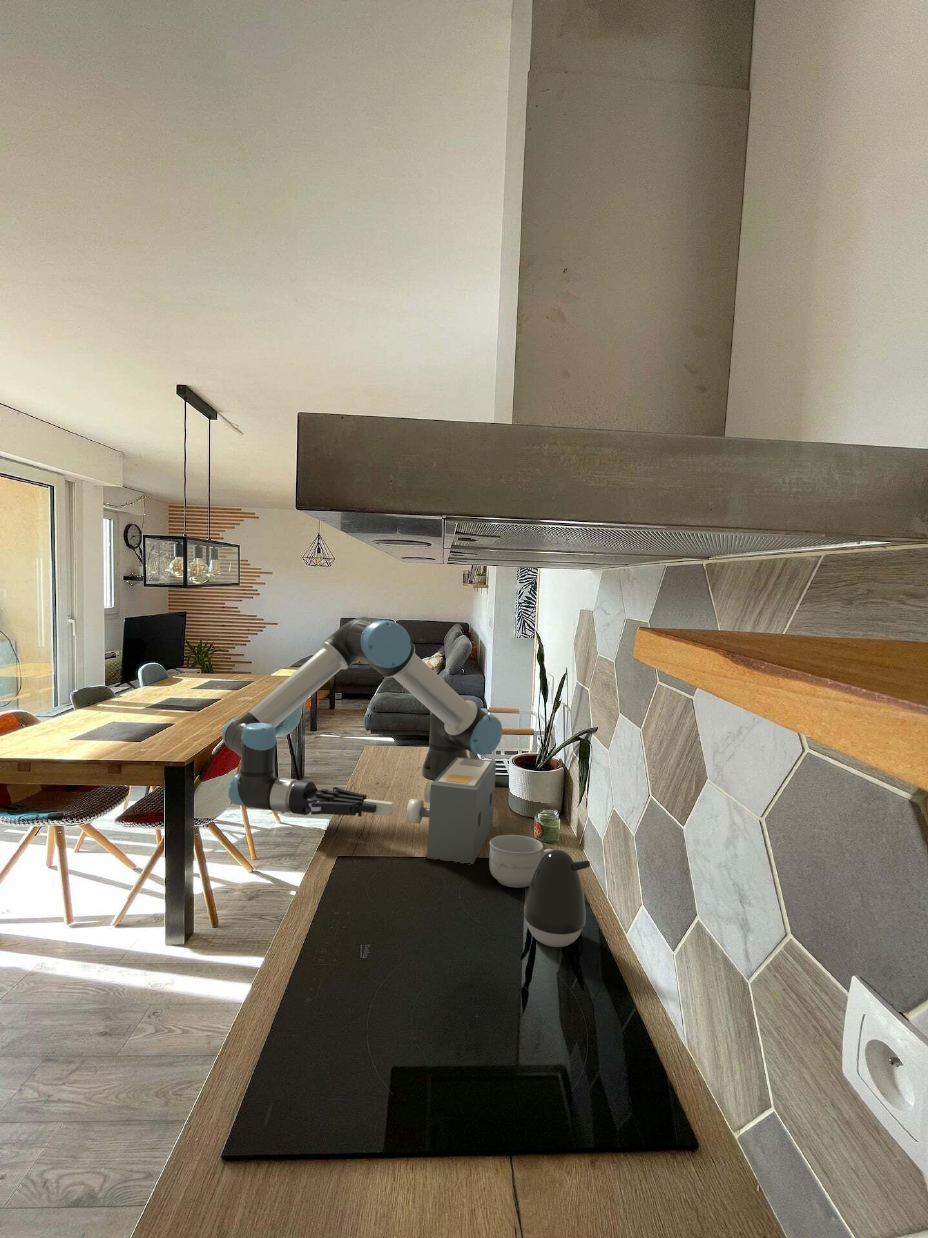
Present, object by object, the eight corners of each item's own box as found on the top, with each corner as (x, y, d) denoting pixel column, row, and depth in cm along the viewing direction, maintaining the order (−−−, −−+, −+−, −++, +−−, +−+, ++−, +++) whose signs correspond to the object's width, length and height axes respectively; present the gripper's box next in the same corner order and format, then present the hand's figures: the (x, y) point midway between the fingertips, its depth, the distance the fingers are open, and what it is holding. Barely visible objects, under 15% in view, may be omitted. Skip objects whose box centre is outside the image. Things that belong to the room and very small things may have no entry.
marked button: (412, 817, 148) (413, 796, 148) (444, 822, 146) (445, 800, 146) (406, 825, 143) (407, 803, 143) (439, 829, 141) (440, 807, 141)
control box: (453, 820, 163) (456, 754, 162) (492, 825, 161) (496, 759, 160) (427, 858, 140) (431, 782, 139) (472, 864, 137) (477, 787, 137)
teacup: (478, 884, 129) (480, 844, 128) (501, 865, 138) (503, 828, 138) (544, 903, 122) (547, 862, 122) (563, 882, 132) (566, 843, 131)
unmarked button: (429, 798, 161) (430, 778, 161) (458, 802, 160) (459, 782, 160) (423, 805, 157) (424, 784, 156) (454, 809, 155) (455, 788, 155)
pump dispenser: (579, 962, 103) (585, 868, 103) (516, 946, 107) (521, 856, 106) (589, 931, 113) (595, 845, 112) (531, 918, 116) (536, 834, 116)
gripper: (307, 803, 157) (400, 816, 152) (280, 822, 145) (380, 836, 140) (308, 772, 157) (401, 784, 152) (281, 788, 144) (382, 801, 139)
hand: (391, 809), depth 146 cm, fingers closed
